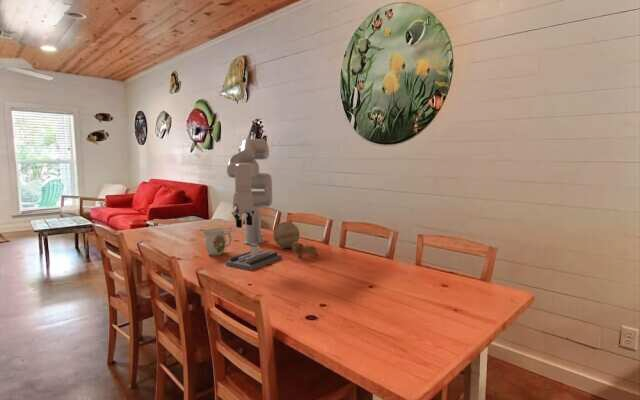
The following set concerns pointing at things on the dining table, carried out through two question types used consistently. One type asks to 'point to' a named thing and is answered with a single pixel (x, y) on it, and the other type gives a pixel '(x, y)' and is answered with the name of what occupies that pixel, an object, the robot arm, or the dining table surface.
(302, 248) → the lion figurine
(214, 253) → the pitcher
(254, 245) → the knob
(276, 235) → the decorative ball
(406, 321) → the dining table surface
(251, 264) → the breaker panel
